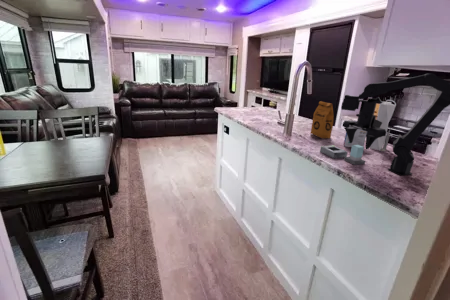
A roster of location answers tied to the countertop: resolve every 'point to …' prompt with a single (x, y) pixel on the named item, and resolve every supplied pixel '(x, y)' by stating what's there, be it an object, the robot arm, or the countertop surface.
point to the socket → (333, 151)
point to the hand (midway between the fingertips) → (358, 146)
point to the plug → (356, 152)
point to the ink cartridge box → (356, 138)
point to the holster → (354, 161)
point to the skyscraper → (383, 124)
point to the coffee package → (323, 120)
